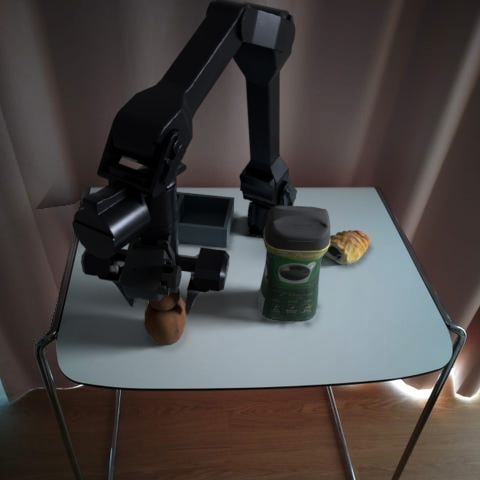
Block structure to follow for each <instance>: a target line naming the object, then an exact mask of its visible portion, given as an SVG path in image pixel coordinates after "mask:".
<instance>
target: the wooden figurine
mask: <svg viewBox="0 0 480 480" xmlns="http://www.w3.org/2000/svg"><path fill="white" fill-rule="evenodd" d="M185 305H186V302H185V301H184V299H183V298H182V296H181V289H180V287H179V290H178V292H170V294H169V296H165V295H164V296H163V298H162V299H161V300H160V301H157V302H152V301H149V300H147V304H146V307H145V311H144V320H143V321H144V322H143V325H144V330H145V332H146V334H147V335H148V336H149V337H150V339H151V340H152V341H153V342H154V343H156V344H158V345H160V346H172V345H174V344H176V343H177V342H178V341H179V340H181V338H182V336H183V334H184V330H185V327H186V322H187V314H186V313H185Z"/></svg>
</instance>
